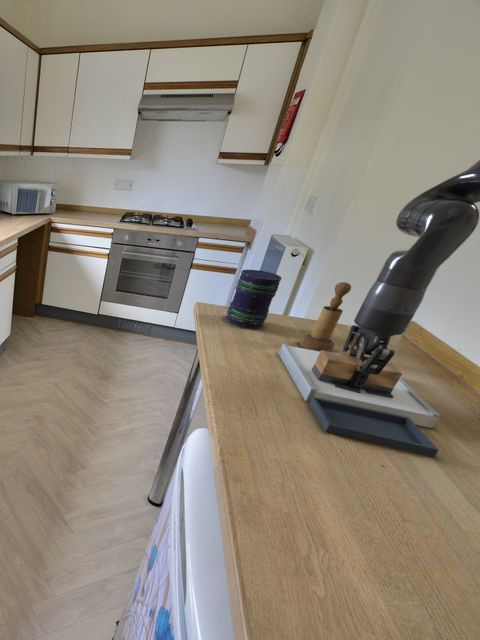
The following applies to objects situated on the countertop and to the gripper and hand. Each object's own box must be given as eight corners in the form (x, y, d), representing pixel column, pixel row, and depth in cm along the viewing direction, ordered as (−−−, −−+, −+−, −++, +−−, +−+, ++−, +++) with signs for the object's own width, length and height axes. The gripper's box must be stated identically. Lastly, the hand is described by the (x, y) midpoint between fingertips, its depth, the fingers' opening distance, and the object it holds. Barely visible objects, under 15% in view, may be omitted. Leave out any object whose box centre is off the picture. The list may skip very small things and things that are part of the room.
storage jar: (240, 315, 128) (256, 268, 122) (270, 327, 120) (290, 278, 114) (217, 318, 125) (233, 270, 118) (247, 331, 117) (266, 280, 110)
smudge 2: (389, 395, 83) (391, 393, 82) (392, 398, 82) (393, 396, 81) (365, 390, 84) (366, 388, 84) (367, 393, 83) (368, 391, 83)
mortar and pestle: (306, 351, 106) (337, 285, 98) (295, 341, 112) (322, 277, 104) (336, 355, 105) (369, 288, 97) (322, 344, 110) (352, 280, 103)
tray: (404, 424, 78) (408, 417, 77) (433, 457, 70) (438, 449, 69) (309, 403, 83) (312, 396, 83) (325, 431, 75) (329, 424, 74)
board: (377, 372, 97) (383, 361, 96) (432, 428, 77) (440, 415, 76) (278, 353, 104) (282, 343, 103) (305, 400, 84) (311, 388, 83)
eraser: (379, 383, 87) (391, 362, 85) (390, 394, 83) (402, 373, 80) (311, 369, 91) (320, 349, 89) (318, 380, 87) (328, 359, 85)
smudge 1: (358, 390, 84) (360, 388, 84) (359, 393, 83) (360, 391, 83) (334, 384, 86) (335, 382, 85) (334, 386, 85) (335, 384, 85)
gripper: (434, 322, 72) (386, 402, 79) (397, 298, 84) (358, 370, 91) (380, 314, 75) (339, 392, 82) (351, 292, 86) (317, 362, 94)
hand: (349, 380), depth 87 cm, fingers closed on eraser, 5 cm apart
